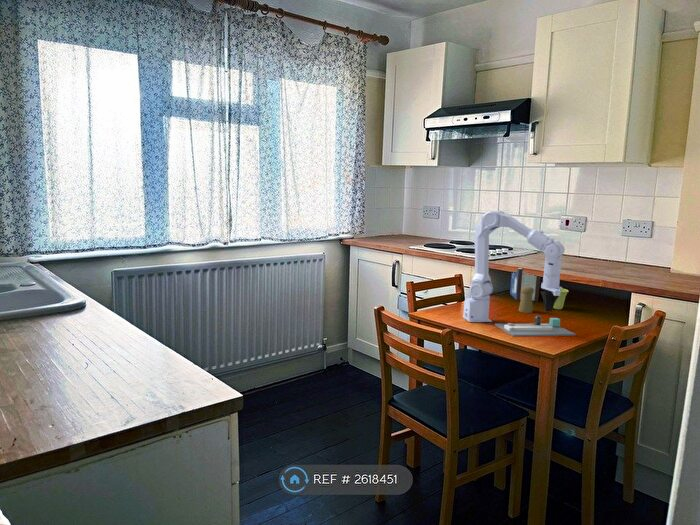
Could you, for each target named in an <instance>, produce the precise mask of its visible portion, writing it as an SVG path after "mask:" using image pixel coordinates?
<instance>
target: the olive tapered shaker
mask: <svg viewBox="0 0 700 525" xmlns="http://www.w3.org/2000/svg"><path fill="white" fill-rule="evenodd" d="M521 292H522V297H521V300H519V301H520V302H519V307H518V312H521V313H526V314H531V313H532V314H533V311H534V310H533V301H532V294H533V292H534V289H533V288H532V287H529V286H524V287H522V289H521Z"/></svg>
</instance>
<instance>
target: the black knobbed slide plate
mask: <svg viewBox="0 0 700 525" xmlns="http://www.w3.org/2000/svg"><path fill="white" fill-rule="evenodd" d="M541 323H542V316H541V315H535V316H534V324H513V323H512V324H513V326H550V325H548V324H541Z"/></svg>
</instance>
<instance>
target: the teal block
mask: <svg viewBox="0 0 700 525" xmlns="http://www.w3.org/2000/svg"><path fill="white" fill-rule="evenodd" d="M548 323H549V325H550V326H552V327H561V318H558V317H550V318H549V322H548Z"/></svg>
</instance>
